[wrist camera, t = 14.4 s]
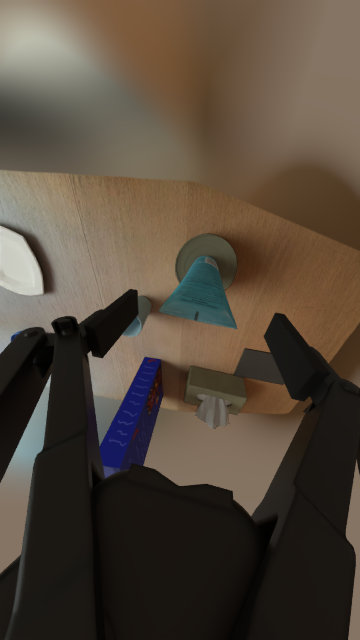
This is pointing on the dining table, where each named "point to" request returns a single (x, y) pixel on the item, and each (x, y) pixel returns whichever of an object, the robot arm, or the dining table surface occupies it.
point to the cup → (139, 317)
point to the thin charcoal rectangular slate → (258, 367)
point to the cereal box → (134, 420)
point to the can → (208, 247)
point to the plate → (19, 265)
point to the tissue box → (214, 395)
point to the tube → (201, 296)
